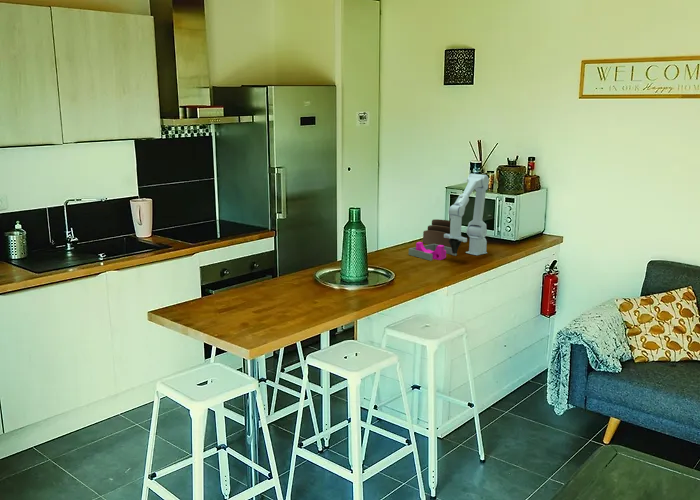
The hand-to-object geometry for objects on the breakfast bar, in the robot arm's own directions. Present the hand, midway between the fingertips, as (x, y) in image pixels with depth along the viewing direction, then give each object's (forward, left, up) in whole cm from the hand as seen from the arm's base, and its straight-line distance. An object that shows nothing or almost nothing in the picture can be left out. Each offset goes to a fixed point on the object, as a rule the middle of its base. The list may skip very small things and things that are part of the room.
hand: (454, 253), depth 359 cm
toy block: (+4, -13, -5) cm, 15 cm away
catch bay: (0, -16, -4) cm, 16 cm away
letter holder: (-23, -31, -5) cm, 39 cm away
